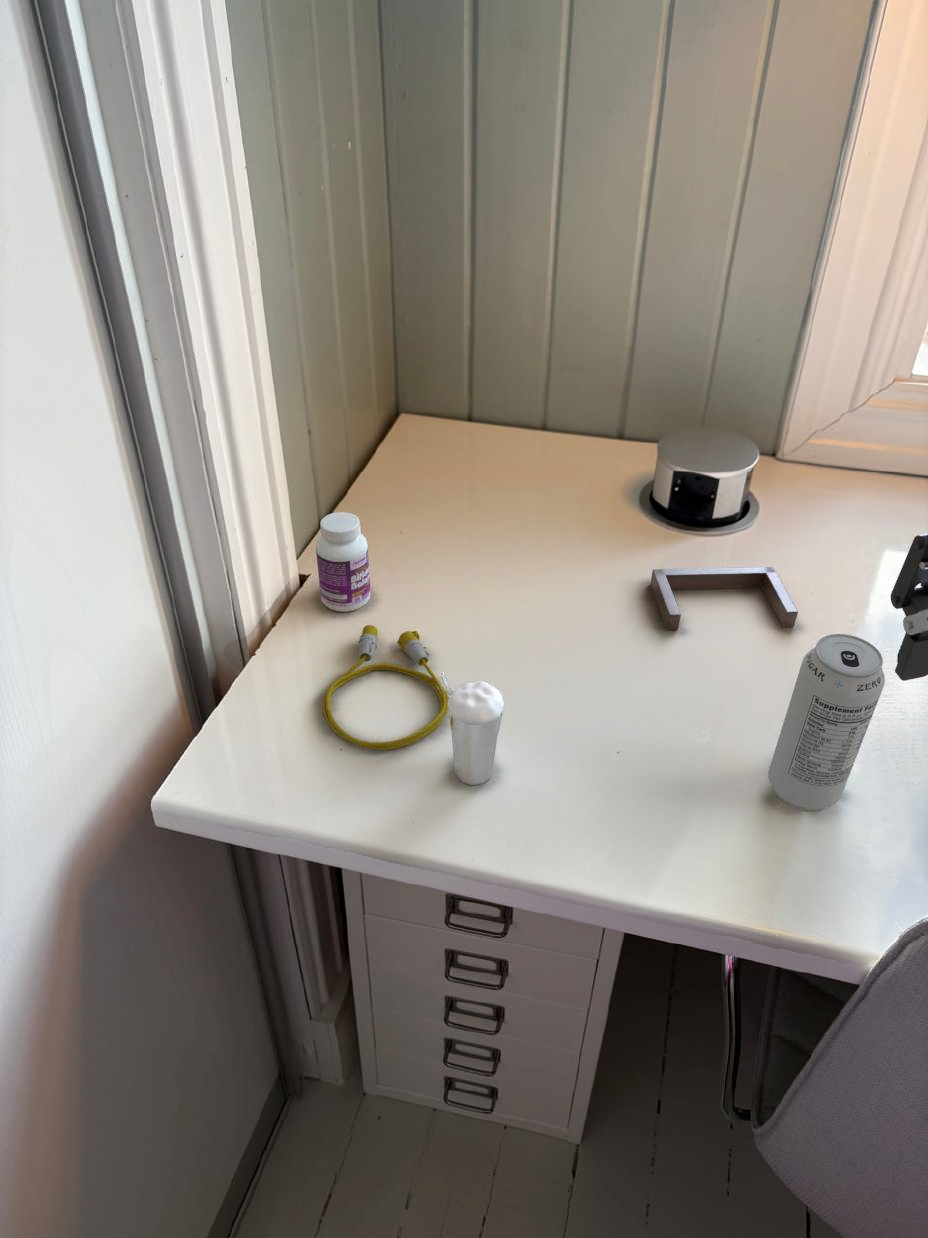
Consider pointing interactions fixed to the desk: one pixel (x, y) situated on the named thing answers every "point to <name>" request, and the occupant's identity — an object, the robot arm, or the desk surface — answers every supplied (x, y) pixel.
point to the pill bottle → (343, 563)
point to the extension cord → (412, 649)
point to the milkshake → (474, 729)
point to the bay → (720, 579)
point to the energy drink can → (826, 721)
